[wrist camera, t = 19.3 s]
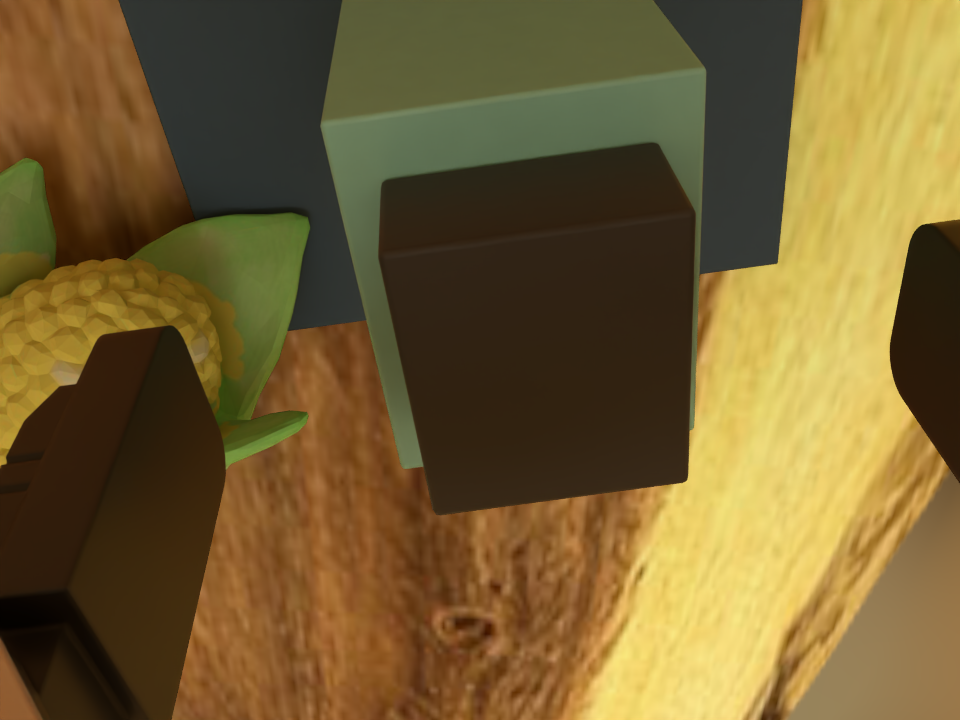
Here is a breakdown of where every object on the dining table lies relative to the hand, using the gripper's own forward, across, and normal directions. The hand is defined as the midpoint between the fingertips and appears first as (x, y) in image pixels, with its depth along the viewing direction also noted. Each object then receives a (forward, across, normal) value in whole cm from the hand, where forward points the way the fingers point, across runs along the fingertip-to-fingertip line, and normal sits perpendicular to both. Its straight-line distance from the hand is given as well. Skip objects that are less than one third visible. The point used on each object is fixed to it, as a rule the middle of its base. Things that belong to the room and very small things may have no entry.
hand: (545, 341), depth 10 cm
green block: (+5, 0, 0) cm, 5 cm away
